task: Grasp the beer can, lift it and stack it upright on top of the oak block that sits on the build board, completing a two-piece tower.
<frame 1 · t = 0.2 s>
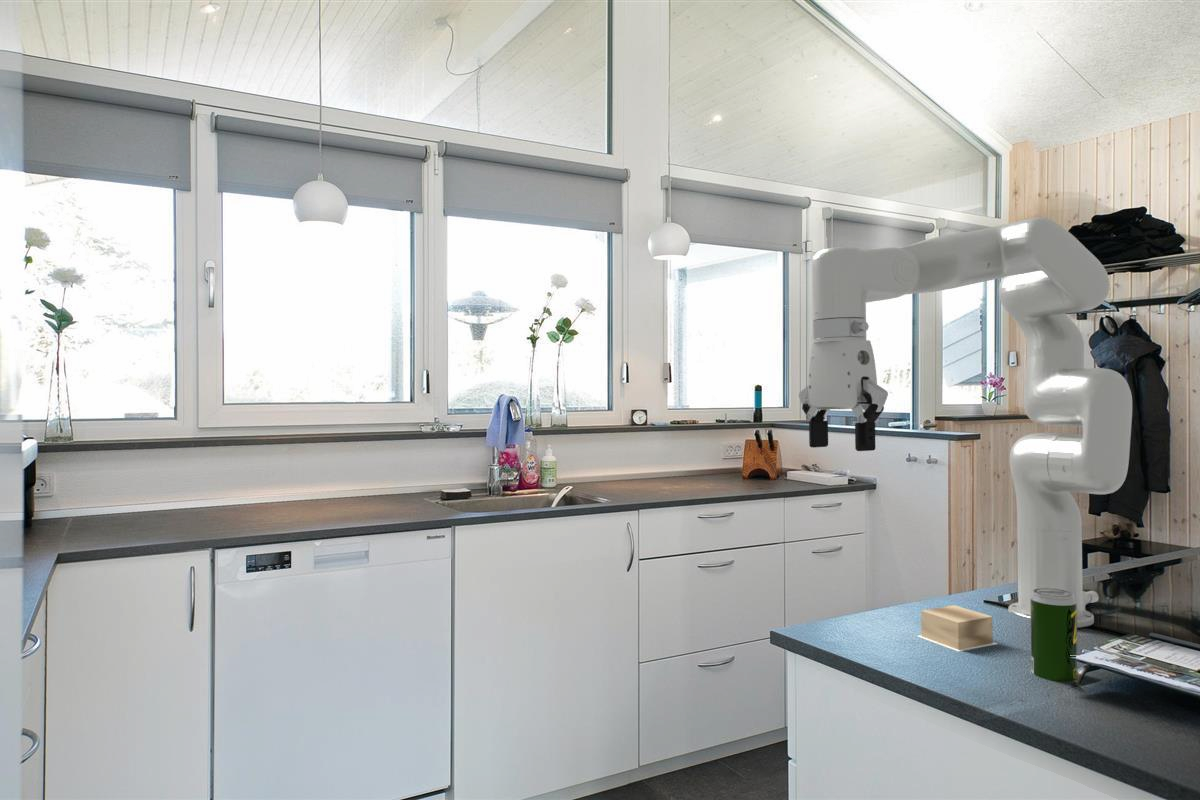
hand: (841, 448, 113), 31 cm above the worktop, fingers open, 9 cm apart
beer can: (1054, 683, 102), on the worktop
oak block: (956, 639, 117), point 1 cm above the worktop, touching build board
build board: (956, 646, 117), on the worktop
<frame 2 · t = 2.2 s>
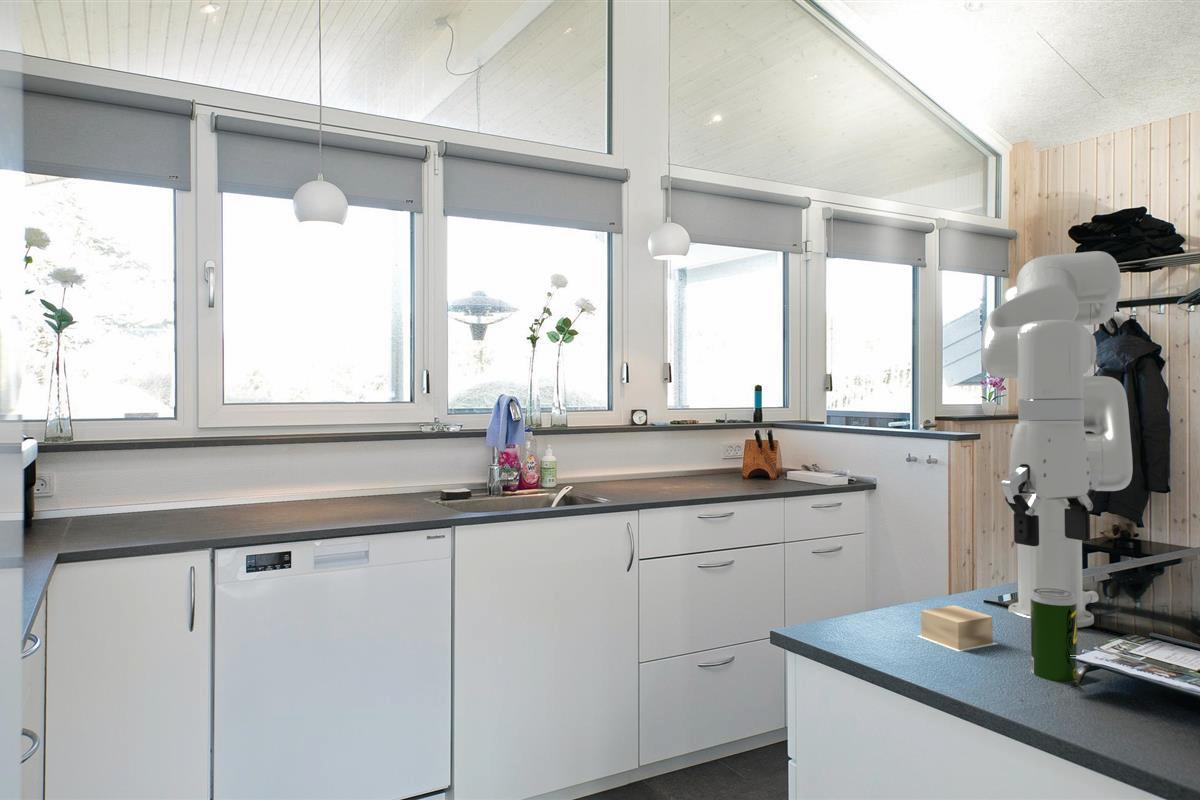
hand: (1052, 541, 102), 19 cm above the worktop, fingers open, 9 cm apart
nothing on the worktop moved.
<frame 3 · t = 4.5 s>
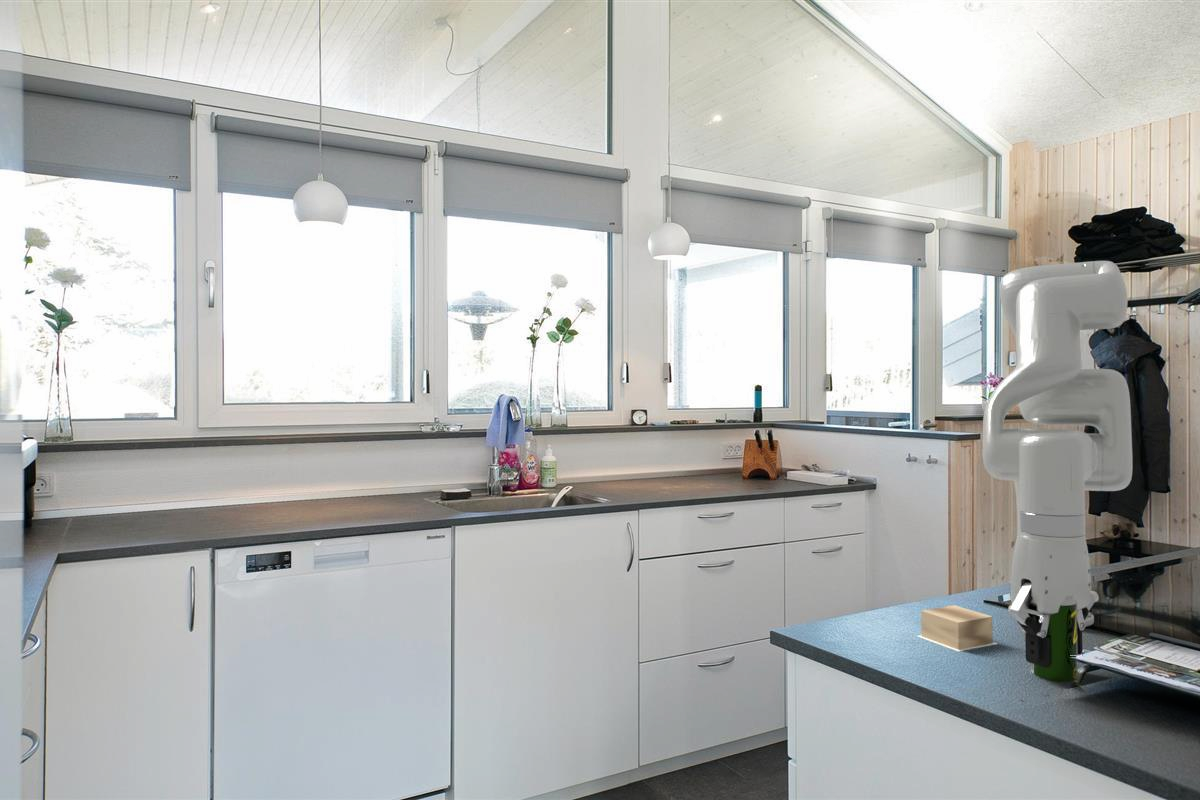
hand: (1054, 659, 102), 3 cm above the worktop, fingers closed on beer can, 5 cm apart
beer can: (1054, 683, 102), on the worktop, touching gripper
everything else where it was.
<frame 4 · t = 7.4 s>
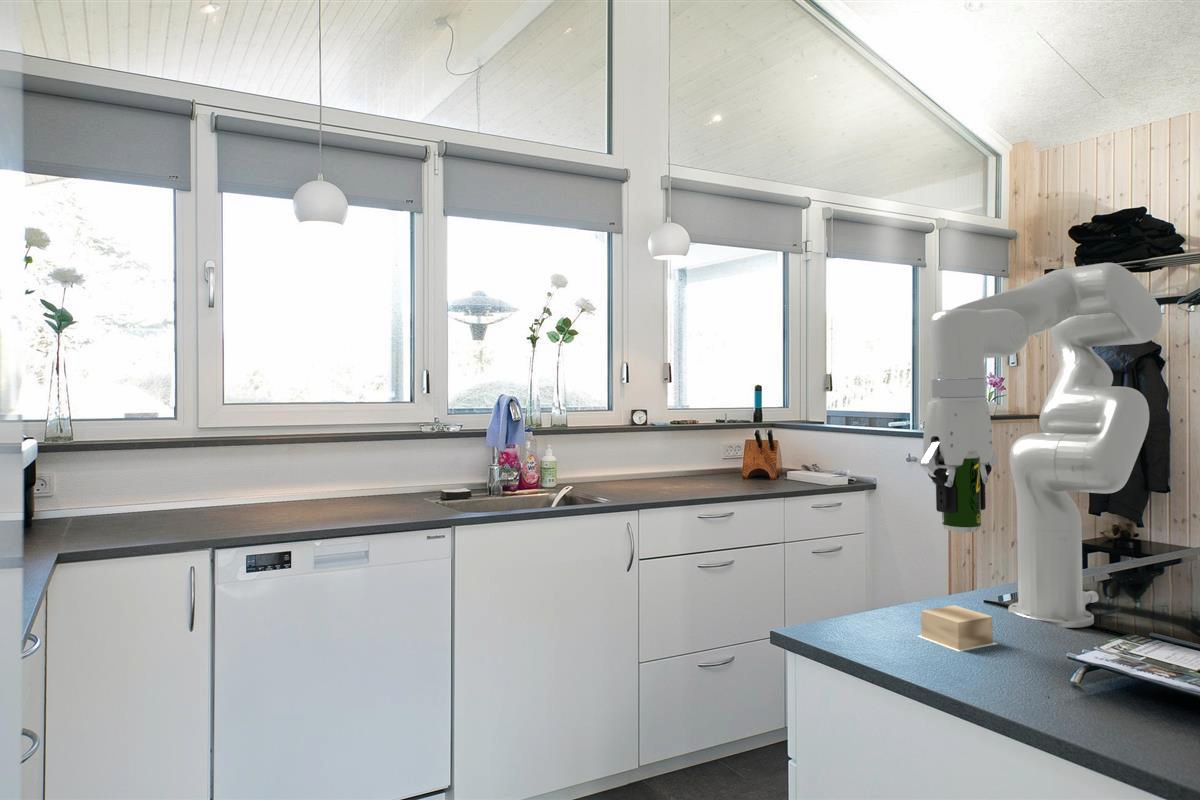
hand: (960, 509, 116), 21 cm above the worktop, fingers closed on beer can, 5 cm apart
beer can: (961, 530, 116), point 18 cm above the worktop, touching gripper
everything else where it was.
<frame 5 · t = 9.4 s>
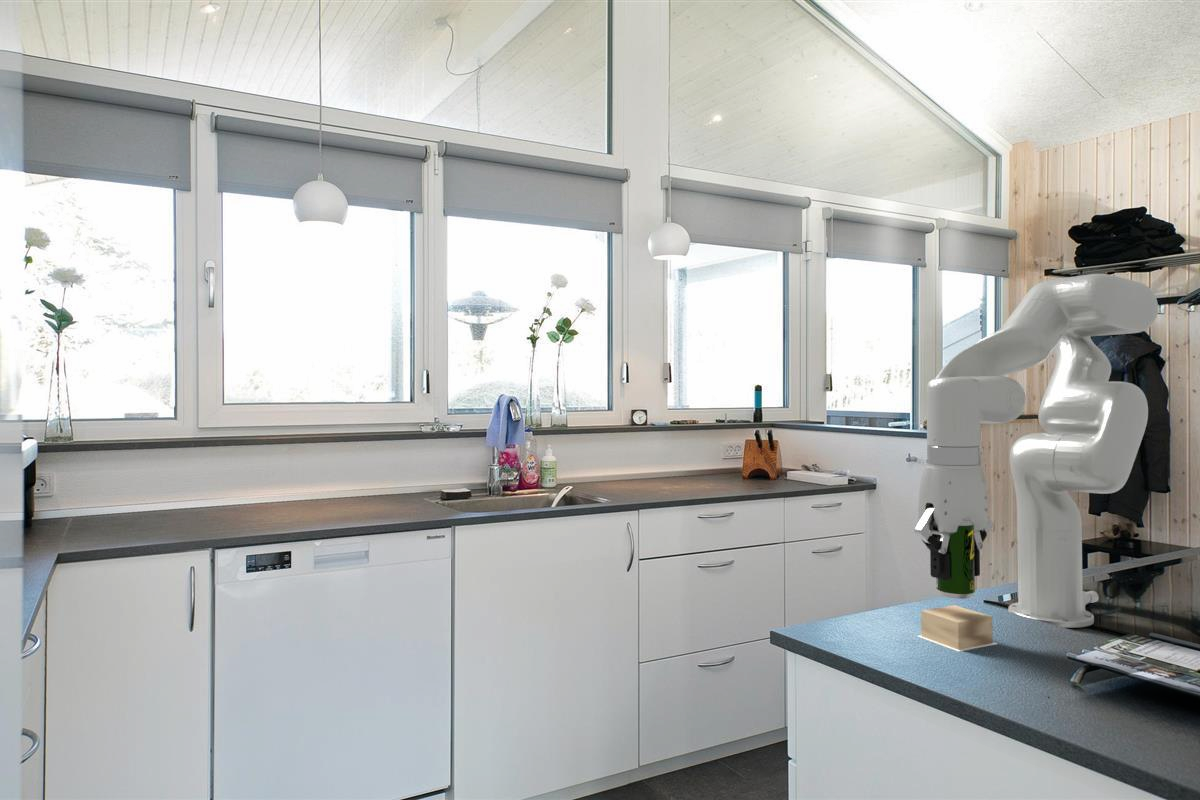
hand: (955, 575, 117), 11 cm above the worktop, fingers closed on beer can, 5 cm apart
beer can: (955, 595, 117), point 8 cm above the worktop, touching gripper
everything else where it was.
when the fingers open (9 cm above the worktop, at t = 10.6 s): beer can drops 1 cm, resting on oak block.
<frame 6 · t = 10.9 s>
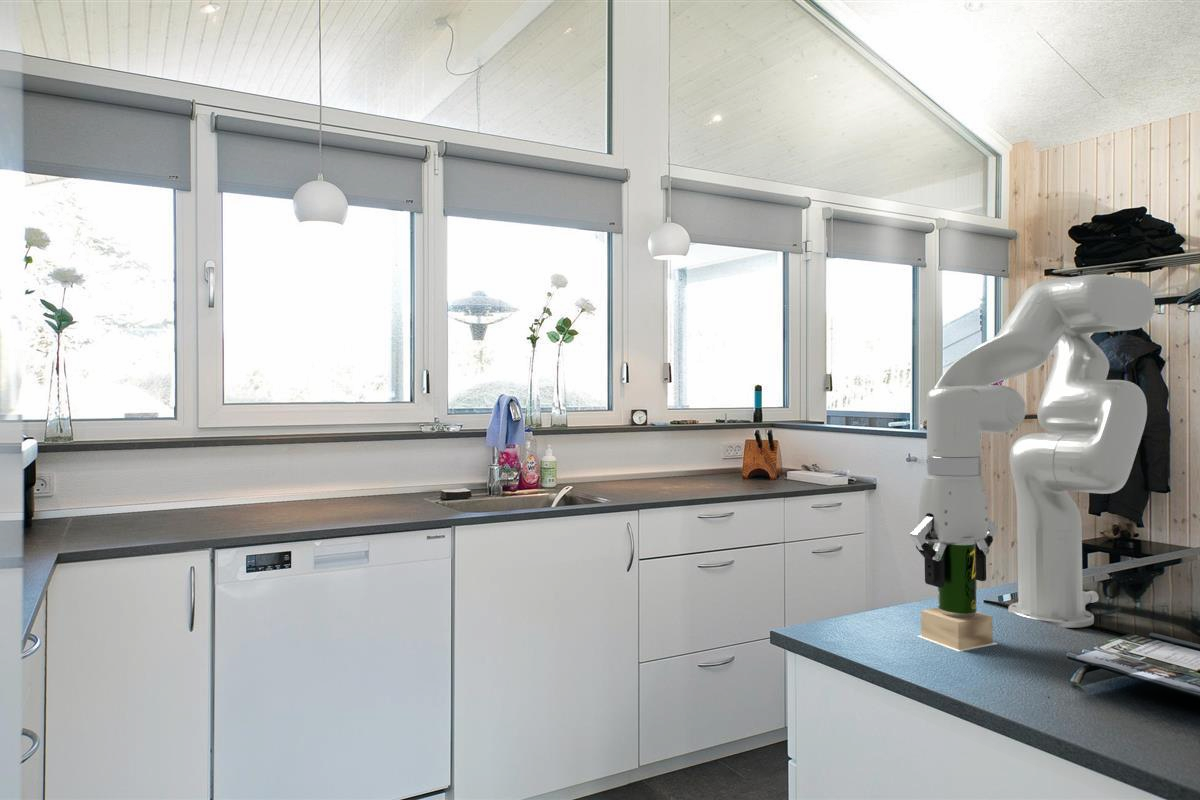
hand: (955, 581, 117), 10 cm above the worktop, fingers open, 8 cm apart
beer can: (957, 614, 117), point 5 cm above the worktop, touching oak block
oak block: (956, 639, 117), point 1 cm above the worktop, touching beer can, build board
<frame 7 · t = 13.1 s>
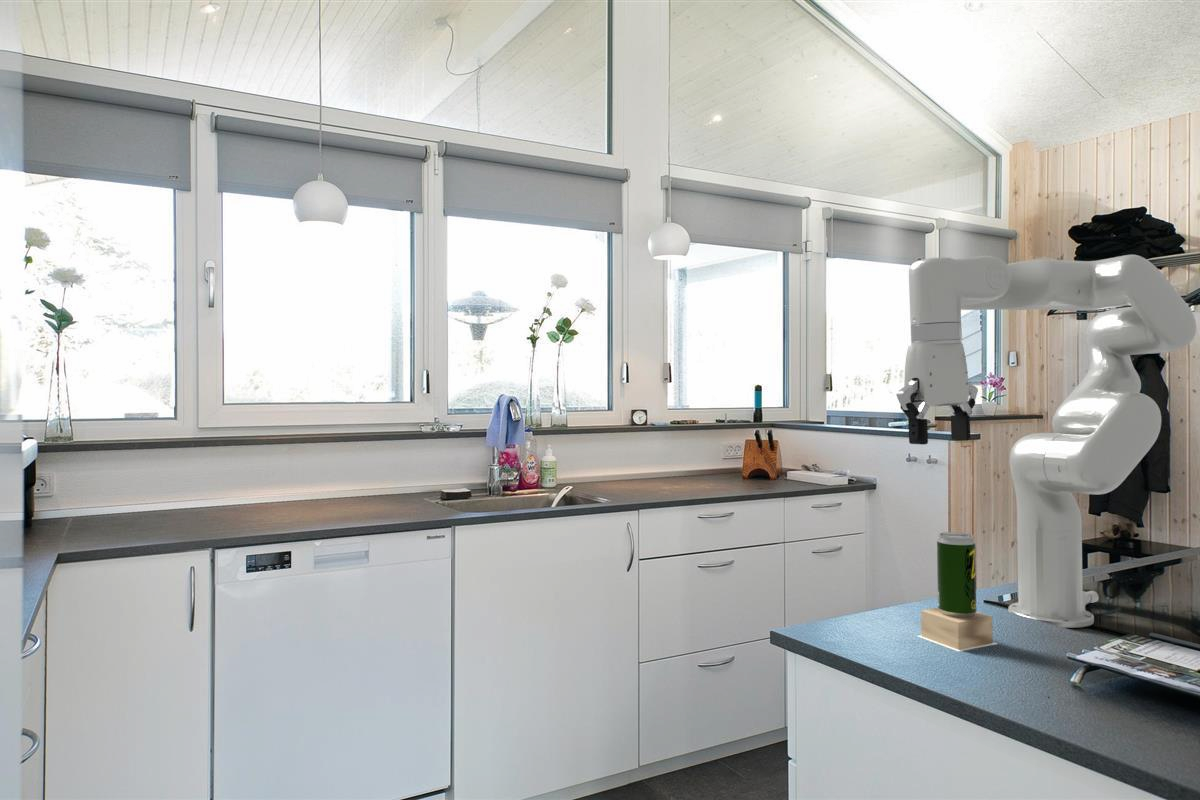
hand: (940, 441, 123), 31 cm above the worktop, fingers open, 9 cm apart
nothing on the worktop moved.
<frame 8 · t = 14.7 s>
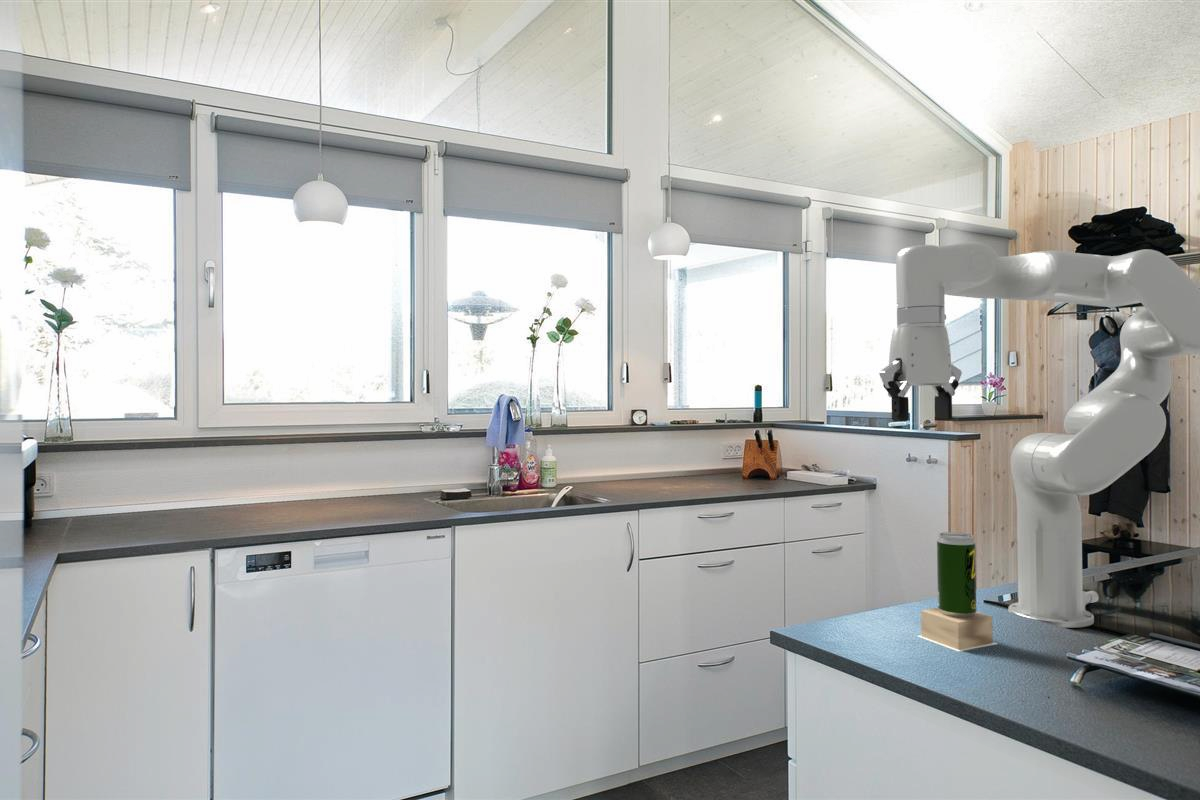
hand: (922, 419, 130), 34 cm above the worktop, fingers open, 9 cm apart
nothing on the worktop moved.
at the end: beer can 0.2 cm from the oak block (horizontally); beer can touching oak block; beer can tilted 0° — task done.
